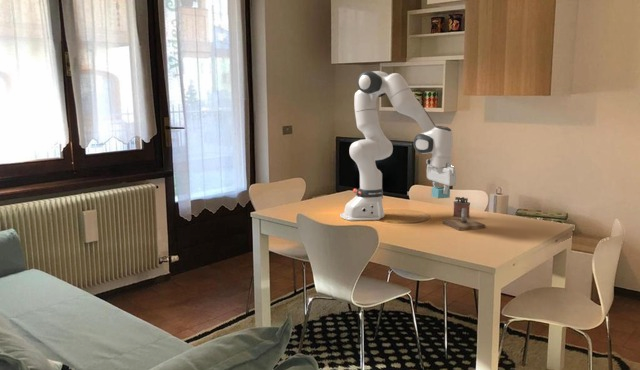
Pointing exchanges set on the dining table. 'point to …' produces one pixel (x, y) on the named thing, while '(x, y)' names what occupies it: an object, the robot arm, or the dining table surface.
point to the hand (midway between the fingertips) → (440, 192)
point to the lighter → (461, 206)
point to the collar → (439, 192)
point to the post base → (465, 225)
